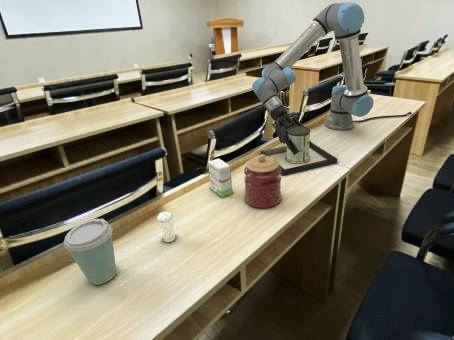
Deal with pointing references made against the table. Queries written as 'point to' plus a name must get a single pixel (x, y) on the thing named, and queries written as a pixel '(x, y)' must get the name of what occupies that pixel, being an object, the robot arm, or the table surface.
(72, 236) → the disposable coffee cup
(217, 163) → the ink box
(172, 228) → the salt shaker
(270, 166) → the kitchen canister
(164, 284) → the table surface
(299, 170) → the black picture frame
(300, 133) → the coffee can
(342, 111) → the robot arm
